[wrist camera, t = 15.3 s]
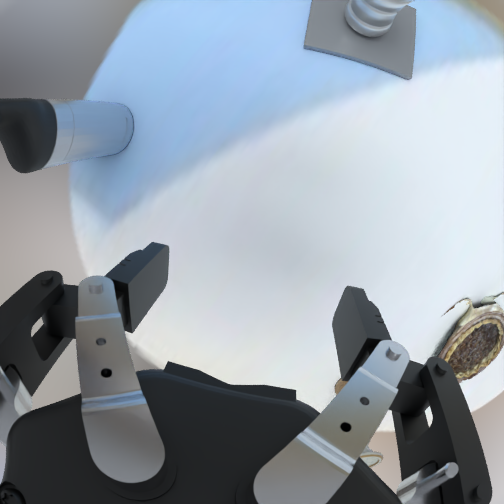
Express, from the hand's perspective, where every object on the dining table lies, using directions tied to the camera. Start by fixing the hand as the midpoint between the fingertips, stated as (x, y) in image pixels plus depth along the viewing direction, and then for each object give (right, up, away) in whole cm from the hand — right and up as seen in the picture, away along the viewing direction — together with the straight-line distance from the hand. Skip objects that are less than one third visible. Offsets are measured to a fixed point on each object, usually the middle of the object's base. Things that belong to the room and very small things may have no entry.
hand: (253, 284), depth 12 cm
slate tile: (+16, +35, +15) cm, 41 cm away
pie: (+48, -18, +32) cm, 61 cm away
